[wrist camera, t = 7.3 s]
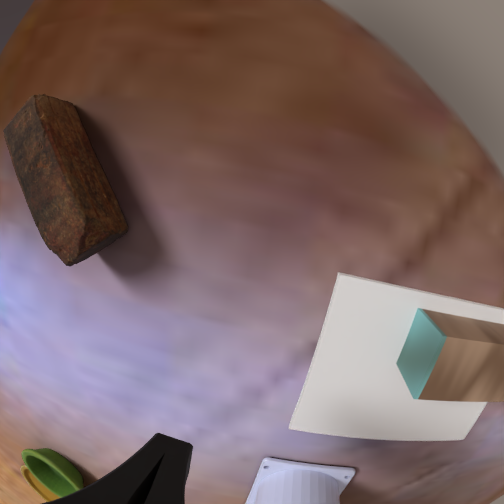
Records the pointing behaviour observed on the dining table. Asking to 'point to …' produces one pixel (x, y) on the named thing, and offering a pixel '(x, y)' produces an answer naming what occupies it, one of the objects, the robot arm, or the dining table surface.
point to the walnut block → (453, 358)
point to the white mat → (378, 367)
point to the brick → (63, 179)
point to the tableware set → (50, 474)
